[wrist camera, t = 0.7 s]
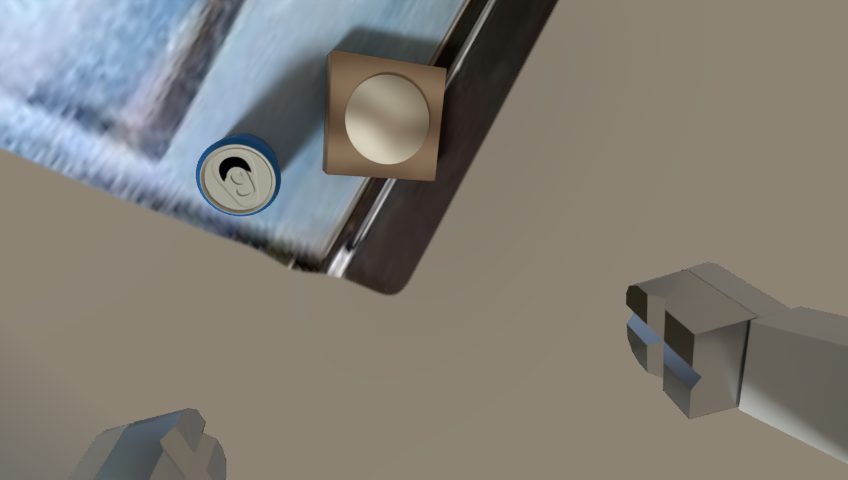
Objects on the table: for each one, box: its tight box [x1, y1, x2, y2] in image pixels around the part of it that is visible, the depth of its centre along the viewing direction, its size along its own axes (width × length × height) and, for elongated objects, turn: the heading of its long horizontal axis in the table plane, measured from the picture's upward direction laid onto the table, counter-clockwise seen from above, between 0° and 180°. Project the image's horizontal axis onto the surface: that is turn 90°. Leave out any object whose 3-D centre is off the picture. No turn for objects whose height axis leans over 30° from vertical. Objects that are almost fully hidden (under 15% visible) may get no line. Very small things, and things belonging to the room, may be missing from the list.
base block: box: [322, 50, 447, 181], centre depth 47 cm, size 12×12×4 cm
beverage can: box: [196, 134, 281, 216], centre depth 40 cm, size 6×6×12 cm
